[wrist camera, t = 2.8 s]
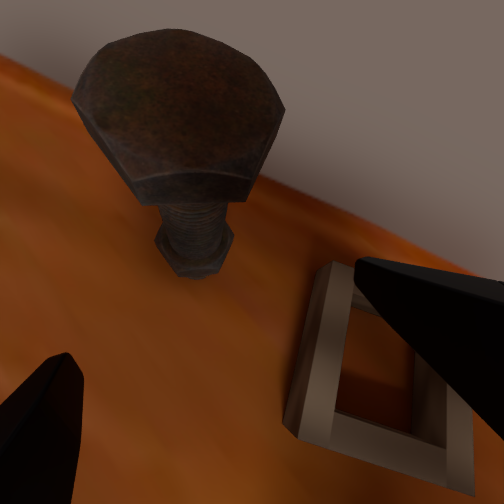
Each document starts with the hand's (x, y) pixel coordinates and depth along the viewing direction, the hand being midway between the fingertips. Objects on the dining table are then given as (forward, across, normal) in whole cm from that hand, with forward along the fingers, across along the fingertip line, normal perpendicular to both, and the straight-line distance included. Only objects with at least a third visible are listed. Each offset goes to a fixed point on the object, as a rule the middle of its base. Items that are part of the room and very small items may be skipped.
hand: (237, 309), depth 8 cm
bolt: (+13, 0, +5) cm, 14 cm away
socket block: (+4, -11, +13) cm, 18 cm away
